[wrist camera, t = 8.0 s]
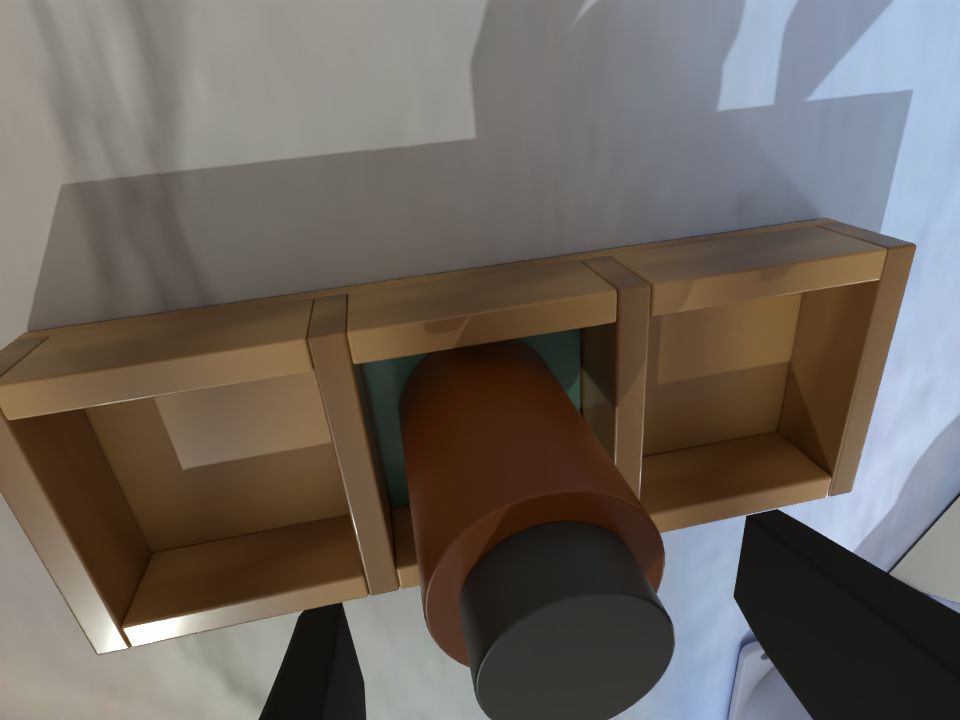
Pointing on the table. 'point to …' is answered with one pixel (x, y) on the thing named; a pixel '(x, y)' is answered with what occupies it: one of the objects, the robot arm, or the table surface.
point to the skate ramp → (935, 559)
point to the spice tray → (376, 427)
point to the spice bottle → (529, 540)
